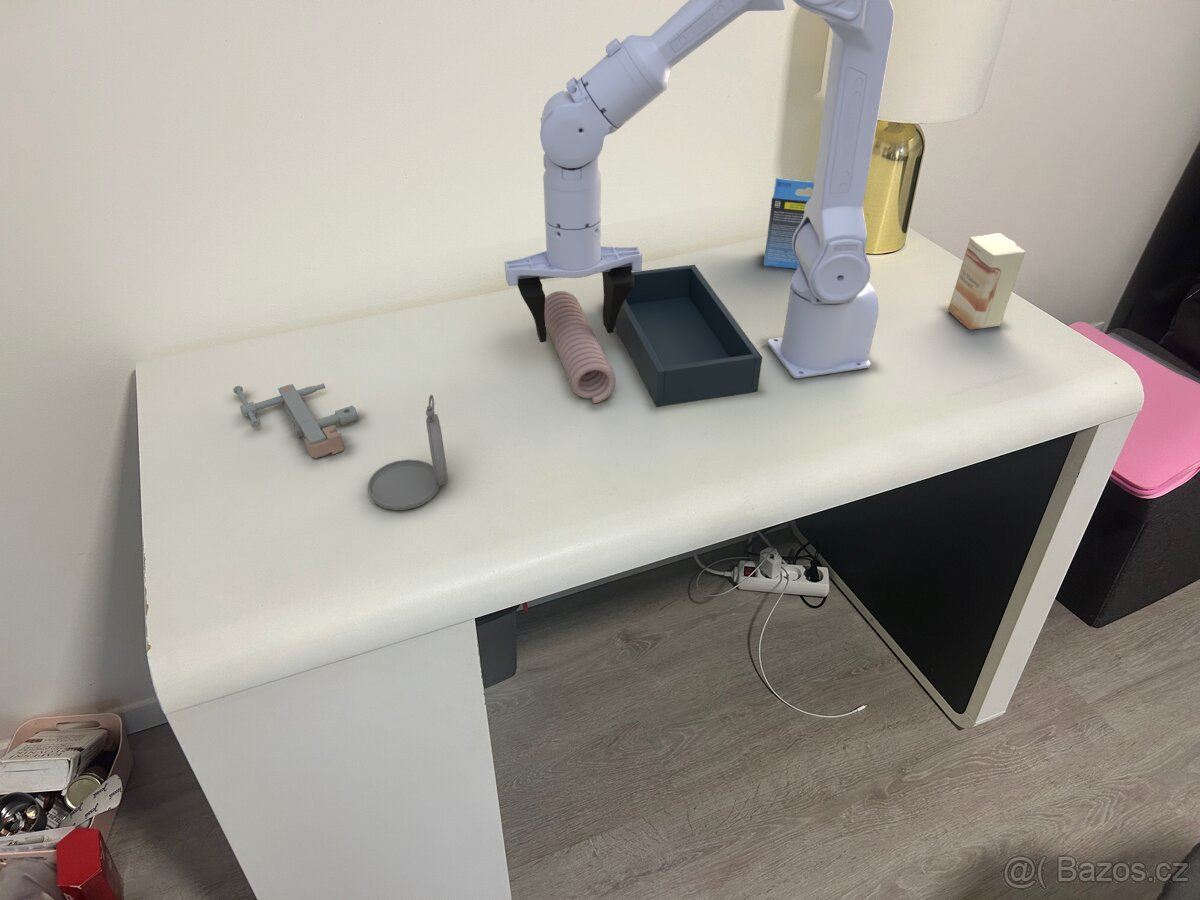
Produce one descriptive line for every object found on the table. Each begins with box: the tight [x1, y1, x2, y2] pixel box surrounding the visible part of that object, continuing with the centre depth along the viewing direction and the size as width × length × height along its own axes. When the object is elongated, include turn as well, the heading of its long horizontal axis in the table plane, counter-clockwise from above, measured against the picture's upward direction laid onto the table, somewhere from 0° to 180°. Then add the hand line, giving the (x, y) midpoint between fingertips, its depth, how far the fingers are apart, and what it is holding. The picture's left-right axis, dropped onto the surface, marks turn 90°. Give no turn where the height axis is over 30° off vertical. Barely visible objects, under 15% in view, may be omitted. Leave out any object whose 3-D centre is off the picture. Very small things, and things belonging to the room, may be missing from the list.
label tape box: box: [763, 177, 814, 270], centre depth 112 cm, size 9×4×12 cm, turn 77°
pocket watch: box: [367, 394, 449, 511], centre depth 77 cm, size 8×8×10 cm
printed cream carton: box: [947, 232, 1027, 331], centre depth 101 cm, size 5×4×10 cm
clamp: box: [232, 383, 359, 459], centre depth 88 cm, size 15×2×10 cm
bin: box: [615, 264, 763, 408], centre depth 98 cm, size 12×22×4 cm, turn 14°
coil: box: [545, 290, 616, 405], centre depth 96 cm, size 5×5×18 cm
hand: (575, 333), depth 95 cm, fingers open, 7 cm apart
